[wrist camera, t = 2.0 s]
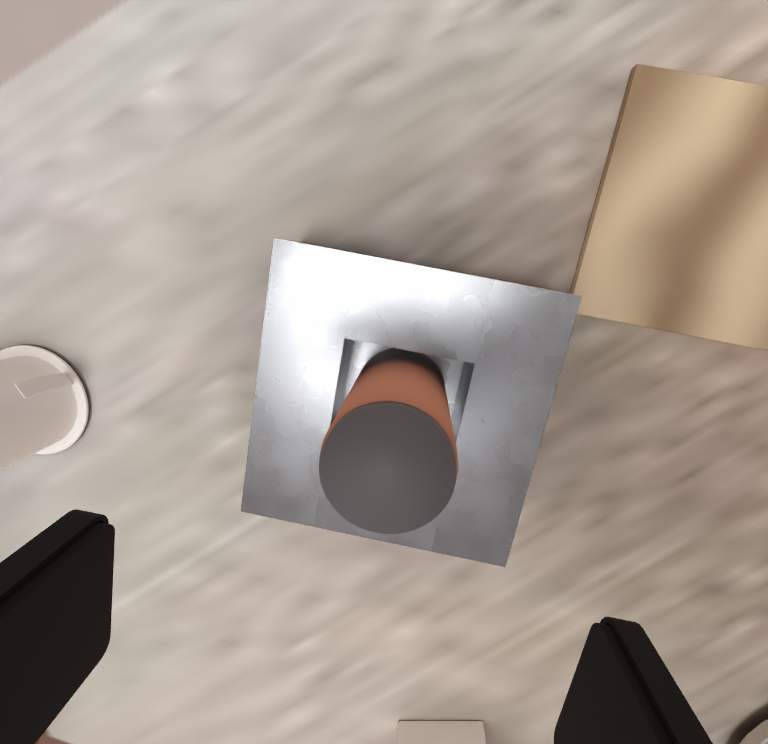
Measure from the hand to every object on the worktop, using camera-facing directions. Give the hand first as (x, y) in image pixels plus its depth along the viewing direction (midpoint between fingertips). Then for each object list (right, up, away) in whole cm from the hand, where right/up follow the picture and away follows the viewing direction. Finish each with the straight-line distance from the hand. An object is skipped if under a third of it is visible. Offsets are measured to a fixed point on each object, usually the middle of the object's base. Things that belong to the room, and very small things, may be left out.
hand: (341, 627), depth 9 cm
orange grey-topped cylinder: (+2, +4, +18) cm, 18 cm away
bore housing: (+2, +4, +19) cm, 19 cm away
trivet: (+18, +13, +15) cm, 27 cm away
